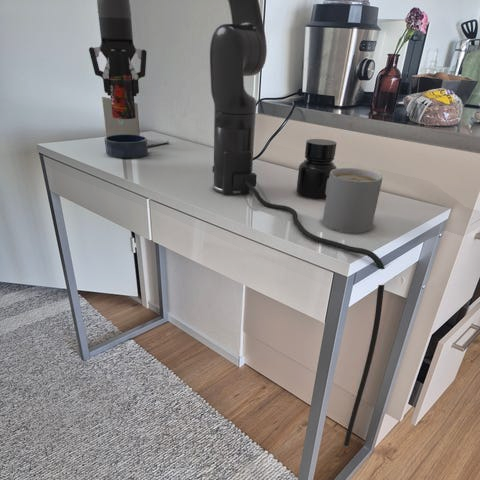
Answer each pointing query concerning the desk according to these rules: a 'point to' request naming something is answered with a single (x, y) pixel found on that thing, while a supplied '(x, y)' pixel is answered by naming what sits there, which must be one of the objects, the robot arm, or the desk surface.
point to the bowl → (126, 146)
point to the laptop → (125, 124)
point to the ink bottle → (316, 168)
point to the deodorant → (121, 85)
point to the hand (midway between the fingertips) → (122, 95)
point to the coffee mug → (351, 200)
